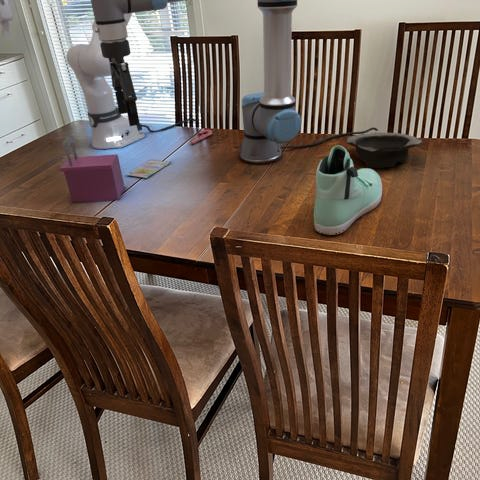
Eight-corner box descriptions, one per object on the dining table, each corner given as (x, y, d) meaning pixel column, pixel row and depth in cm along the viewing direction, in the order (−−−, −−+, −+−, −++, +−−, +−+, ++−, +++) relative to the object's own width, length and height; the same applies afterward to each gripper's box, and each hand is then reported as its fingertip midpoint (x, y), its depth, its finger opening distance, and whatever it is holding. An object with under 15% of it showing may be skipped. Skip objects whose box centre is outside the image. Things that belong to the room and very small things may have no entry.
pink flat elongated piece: (182, 143, 196) (181, 139, 196) (204, 131, 207) (204, 128, 206) (193, 145, 193) (192, 141, 193) (215, 133, 203) (215, 130, 203)
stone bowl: (379, 179, 153) (379, 151, 149) (331, 161, 173) (330, 135, 169) (436, 160, 162) (438, 133, 158) (384, 144, 182) (385, 120, 178)
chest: (72, 202, 155) (63, 171, 150) (80, 190, 163) (72, 160, 158) (118, 199, 155) (111, 168, 149) (124, 187, 162) (118, 157, 157)
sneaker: (389, 187, 148) (396, 123, 138) (356, 242, 123) (361, 168, 112) (346, 181, 154) (350, 119, 144) (306, 232, 129) (307, 161, 118)
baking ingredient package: (126, 174, 170) (150, 159, 182) (126, 175, 171) (151, 160, 182) (146, 177, 167) (170, 162, 178) (146, 178, 167) (170, 163, 179)
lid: (61, 171, 150) (53, 144, 145) (70, 160, 158) (62, 134, 153) (111, 168, 149) (105, 141, 144) (118, 157, 157) (112, 131, 152)
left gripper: (9, -13, 147) (23, 35, 154) (-14, -13, 160) (-1, 31, 168) (-12, -11, 144) (4, 38, 151) (-34, -11, 157) (-19, 34, 164)
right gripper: (91, 36, 136) (108, 111, 147) (108, 48, 116) (125, 133, 127) (118, 33, 138) (132, 106, 149) (139, 44, 118) (153, 127, 130)
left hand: (1, 35), depth 159 cm, fingers open, 8 cm apart
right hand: (129, 119), depth 138 cm, fingers open, 13 cm apart
